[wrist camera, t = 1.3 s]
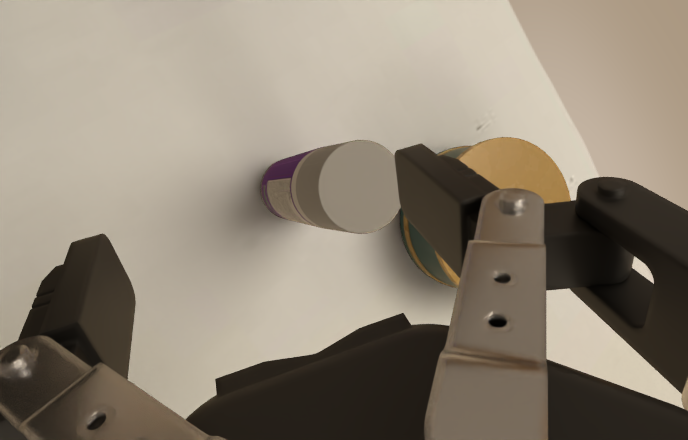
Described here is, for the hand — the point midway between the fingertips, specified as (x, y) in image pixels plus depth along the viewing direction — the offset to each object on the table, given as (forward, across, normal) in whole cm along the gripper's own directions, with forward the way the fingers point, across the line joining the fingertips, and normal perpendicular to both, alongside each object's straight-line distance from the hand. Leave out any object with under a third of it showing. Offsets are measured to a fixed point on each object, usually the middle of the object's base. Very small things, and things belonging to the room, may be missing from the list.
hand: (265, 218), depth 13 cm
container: (+21, -3, +10) cm, 24 cm away
